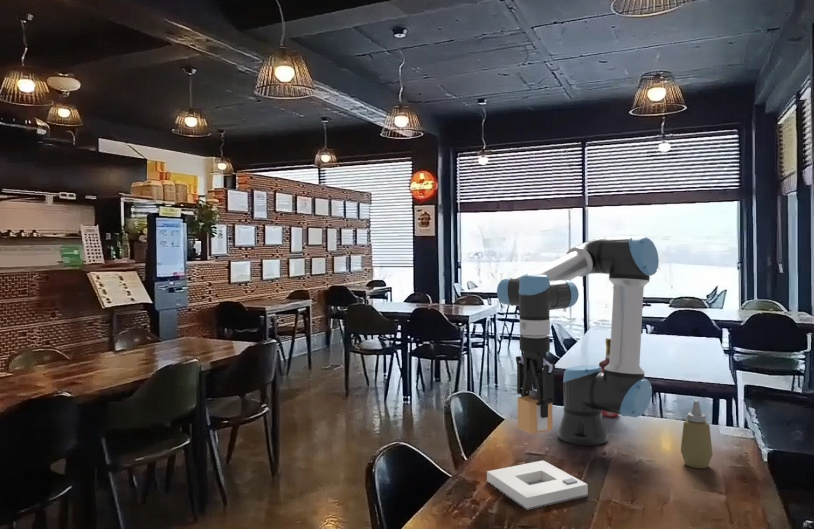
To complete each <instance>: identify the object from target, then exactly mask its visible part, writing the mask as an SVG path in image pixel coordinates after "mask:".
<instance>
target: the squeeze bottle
mask: <svg viewBox="0 0 814 529" xmlns="http://www.w3.org/2000/svg"><path fill="white" fill-rule="evenodd" d="M706 416H707V415H706V414H705V413H702V410H701V407H700V401H699V400H694V401H693V404H692V409H691V411H690V412H687V416H686V417H687V419H686V420H685V421H683V426H682V434H681V444H680V453H681V455H682V456H681V457H682V459H683V460H684V464H685V465H686V466H688V467H690V468H695V469H706V468H709V465H710V463H711V460H712V459H713V458H712V457H713V455H714V454H713V447H712V436H711V428H710V423H708V422H707V417H706Z"/></svg>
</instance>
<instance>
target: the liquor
mask: <svg viewBox="0 0 814 529" xmlns="http://www.w3.org/2000/svg"><path fill="white" fill-rule="evenodd" d="M610 345H611V337H610V338H609V337H608V338H605V347H606V348H605V356H604V357H605V358H604V359H603V360H602V361H600V362H599V363H598V366H600V367H601V369H602V372H603V373H604V367H606V366H607V365H608V364H609V363H610ZM619 415H620V414H615V413H611V412H606V411H602V417H604V418H610V419H611V418H612V419H613V418H616V417H618V416H619Z"/></svg>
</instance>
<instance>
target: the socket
mask: <svg viewBox="0 0 814 529" xmlns="http://www.w3.org/2000/svg"><path fill="white" fill-rule="evenodd" d="M487 482H488V483H490V484H491V485H493V486H494V487H495V488H494V487H493V486H492V487H493V488H494V489H496V488H497V489H498V490H499V491H498V492H500V493H501V492H502V494H503V495H504V494H505V495H504V496H506V497H507V498H509V499H510V500H511V499H512V501H513V502H514V503H516V504H517V505H519V506H520V507H521V506H522V507H521V508H523V509H524V508H525V509H524V510H526V511H530V509H531V510H535V509H539V508H544V507H547V505H548V506H552V505H556V504H560V503H565V502H569V501H573V500H577V499H583V498H587V497H588V495H589V494H588V493H589V492H588V490H589V489H588V486H589V485H588V483H586V482H584V481H582V480H581V479H579V478H576V477H575V476H573V475H570V474H569V472H568V473H567V472H566V471H564V470H562V469H560V468H558V467H556V466H554V465H553V464H550V463H549V462H547V461H545V460H544V459H543V460H539V461H531V462H528V463H523V464H519V465H513V466H508V467H503V468H502V467H501V468H498V469H492V470H487V471H486V483H487ZM488 483H487V484H488ZM490 484H489V485H490ZM491 485H490V486H491ZM497 489H496V490H497ZM543 506H544V507H543ZM534 508H535V509H534Z"/></svg>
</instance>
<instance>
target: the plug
mask: <svg viewBox="0 0 814 529" xmlns="http://www.w3.org/2000/svg"><path fill="white" fill-rule="evenodd" d="M536 403H539V401H538V395H537V389H535V388H533V389H530V390H529V396H525V397H521V396H520V397H519V396H518V397H517V429H518V430H520V431H523V432H525V433H526V434H528V435H531V434H532V435H533V434H537V433H538V434H539V433H542V432H551V431H553V403H551V404H548V417H547V429H546V430H540V431H538V430H537V404H536Z"/></svg>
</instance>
